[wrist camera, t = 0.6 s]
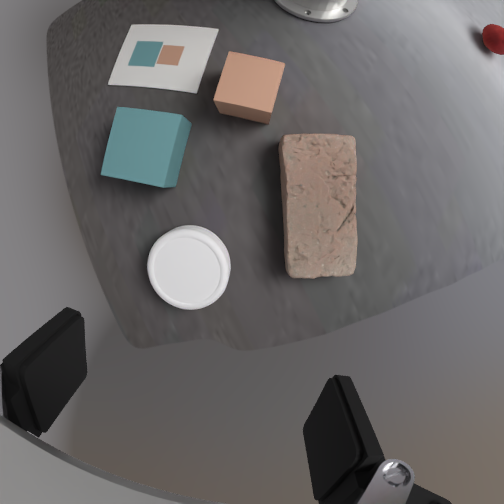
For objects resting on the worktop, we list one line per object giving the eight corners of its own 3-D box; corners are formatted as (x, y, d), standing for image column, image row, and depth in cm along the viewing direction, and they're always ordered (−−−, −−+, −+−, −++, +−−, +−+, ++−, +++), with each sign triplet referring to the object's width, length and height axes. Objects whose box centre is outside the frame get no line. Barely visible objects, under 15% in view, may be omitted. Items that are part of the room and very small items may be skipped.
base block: (134, 115, 32) (117, 106, 27) (191, 123, 32) (182, 114, 27) (119, 175, 33) (100, 174, 29) (175, 186, 34) (163, 187, 29)
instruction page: (132, 25, 28) (131, 24, 28) (219, 29, 29) (218, 28, 29) (108, 84, 30) (107, 84, 30) (196, 93, 31) (196, 93, 31)
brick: (346, 267, 36) (358, 279, 32) (283, 272, 37) (287, 284, 32) (343, 138, 33) (356, 132, 28) (276, 138, 33) (280, 131, 28)
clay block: (232, 71, 30) (229, 51, 25) (280, 81, 31) (285, 63, 25) (219, 113, 32) (213, 100, 26) (268, 124, 32) (271, 112, 26)
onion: (498, 53, 27) (524, 44, 19) (488, 62, 28) (516, 52, 20) (480, 28, 26) (505, 15, 18) (469, 35, 27) (495, 21, 19)
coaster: (239, 292, 37) (237, 302, 34) (168, 305, 38) (160, 317, 34) (219, 216, 35) (216, 219, 31) (145, 234, 35) (135, 240, 32)
